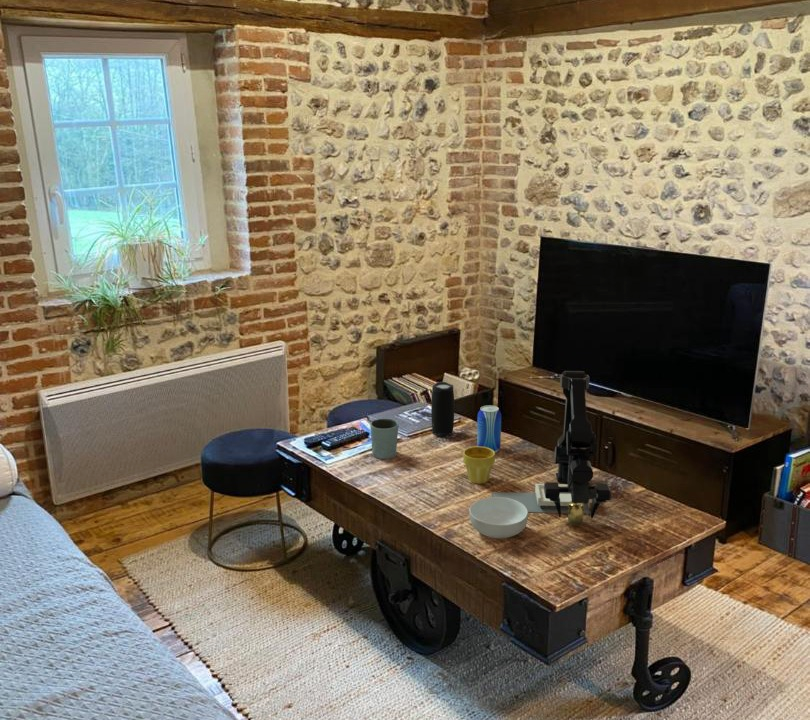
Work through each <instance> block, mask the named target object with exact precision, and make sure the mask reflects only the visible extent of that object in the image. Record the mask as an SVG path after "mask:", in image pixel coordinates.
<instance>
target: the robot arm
mask: <svg viewBox="0 0 810 720" xmlns="http://www.w3.org/2000/svg"><path fill="white" fill-rule="evenodd" d="M559 376H560V378H559V380H560V382H559V385H560V387H561V389H562V394H563V395H564V397H565V405H564V407H565V408H564V420H563V421H564V422H563V433H562V434H561V435H560V437H558V439H557V445H555V447H554V452H553V453H554V454H553V455H554V457H553V459H554V464H556V465H557V464H558V467H557V469H558V470H557V471H558V472H555V476H556V481H557V482H548V481H546V482H545V483H543V484H544V493H545V498H547V499H550V501H554V503H555V505H556V508H557V511H558V513H557V514H558V518H561V517H562V513H561V507H560V497H559V495H560V494H571V498H572V502H573V503H584V504H587V503H588V502H589V499H592V505H591V512H590V519H593V518H594V516H595V515H596V512H597V509H598V508H599V507H600V505H601V504H602V503H606V501H611V500H612V490H611V488H610V486H609V484H608V483H595V484H594V485H591V484H590V483H589V482H591V481H592V480H593V478H594V471H593V467H592V464H591V460H590V457H596V453H597V451H598V449H597V447H598V446H597V436H596V433H595V431H593V428H592V427H593V426H592V423H591V421H590V420H589V419H588V416H587V404H586V403H587V402H586V393H587V392H586V390H587V389H590V376H589V374H586V372H585V371H583V370H564V371H562V373H561V374H560V375H559ZM590 448H591V449H590ZM561 483H562V484H563V483H564V484H565V483H566V485H567V487H559V486H558V484H561Z"/></svg>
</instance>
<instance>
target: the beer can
mask: <svg viewBox="0 0 810 720" xmlns="http://www.w3.org/2000/svg"><path fill="white" fill-rule="evenodd" d="M499 409H500V408H499V407H498V406H496V405H491V404H489V405H483V406H481V407H480V410H479V411H478V412H477V420H476V421H477V422H476V423H477V427H476V430H477V431H476V433H477V435H476V436H477V437H476V442H477V443H476V446H481V447H487V448H490V449H492V450H493V451H494V452H495V454H497V453H498V452H499V451H500V449H501V441H502V436H501V435H502V413H501V411H500V410H499Z"/></svg>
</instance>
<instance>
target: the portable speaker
mask: <svg viewBox="0 0 810 720" xmlns="http://www.w3.org/2000/svg"><path fill="white" fill-rule="evenodd" d="M454 394H455V393H454V384H451V383H448V382H446V381H438V382H436V383H434V384H433V385H432V390H431V399H430V400H431V405H430V406H431V407H430V408H431V410H430V411H431V413H430V415H431V416H430V420H431V431H432V434H434V435H436V436H437V438H448V437H449V435H450V434H454V433H453V432H454V424H455V395H454Z"/></svg>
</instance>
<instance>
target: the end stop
mask: <svg viewBox="0 0 810 720" xmlns="http://www.w3.org/2000/svg"><path fill="white" fill-rule="evenodd" d="M591 505H592V499H589V502H588V503H587V506H588V509H589V512H590V513H591Z"/></svg>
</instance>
